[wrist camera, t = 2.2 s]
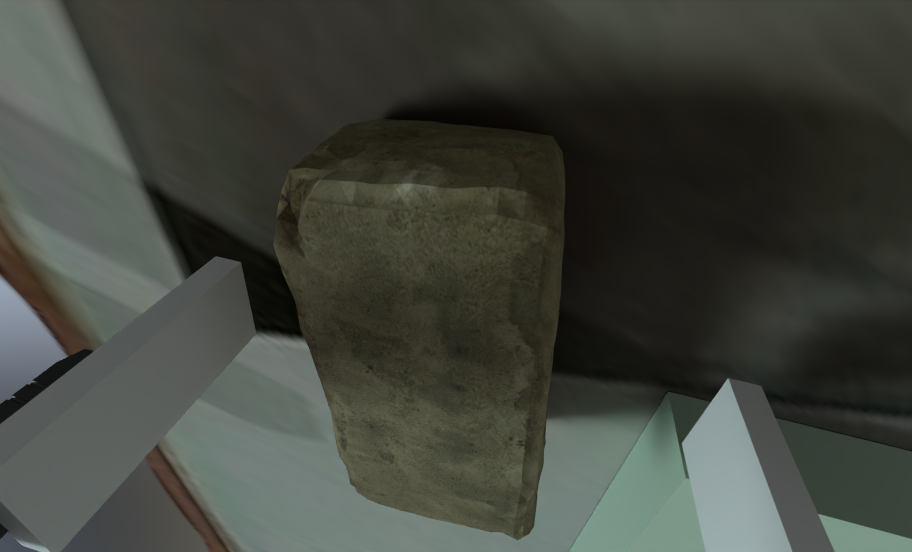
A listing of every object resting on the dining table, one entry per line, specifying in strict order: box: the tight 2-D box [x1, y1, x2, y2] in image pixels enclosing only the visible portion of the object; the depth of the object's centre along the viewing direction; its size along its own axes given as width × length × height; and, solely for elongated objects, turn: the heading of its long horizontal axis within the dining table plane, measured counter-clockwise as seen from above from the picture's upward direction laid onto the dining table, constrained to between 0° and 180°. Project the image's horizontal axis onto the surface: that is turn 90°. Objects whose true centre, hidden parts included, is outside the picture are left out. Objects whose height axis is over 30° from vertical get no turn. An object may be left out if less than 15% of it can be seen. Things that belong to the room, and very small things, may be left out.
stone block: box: [273, 119, 565, 540], centre depth 12 cm, size 6×12×5 cm, turn 4°
